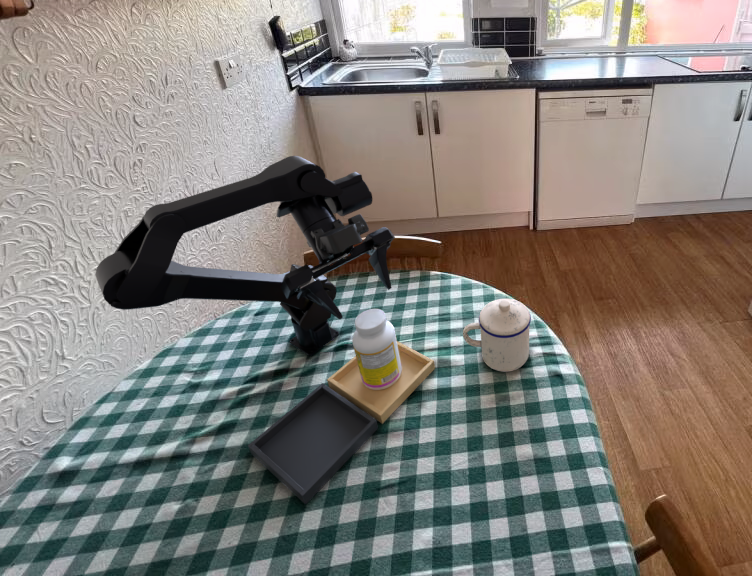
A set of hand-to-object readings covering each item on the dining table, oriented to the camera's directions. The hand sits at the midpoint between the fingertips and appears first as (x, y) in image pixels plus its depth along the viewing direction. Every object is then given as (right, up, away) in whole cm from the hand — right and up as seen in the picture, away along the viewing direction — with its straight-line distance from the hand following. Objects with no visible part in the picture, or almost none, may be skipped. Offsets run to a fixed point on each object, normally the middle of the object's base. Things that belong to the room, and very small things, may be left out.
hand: (366, 303), depth 70 cm
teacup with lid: (+22, -11, +6) cm, 25 cm away
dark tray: (-4, -18, -9) cm, 20 cm away
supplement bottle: (+2, -13, +1) cm, 13 cm away
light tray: (+2, -13, +1) cm, 13 cm away
